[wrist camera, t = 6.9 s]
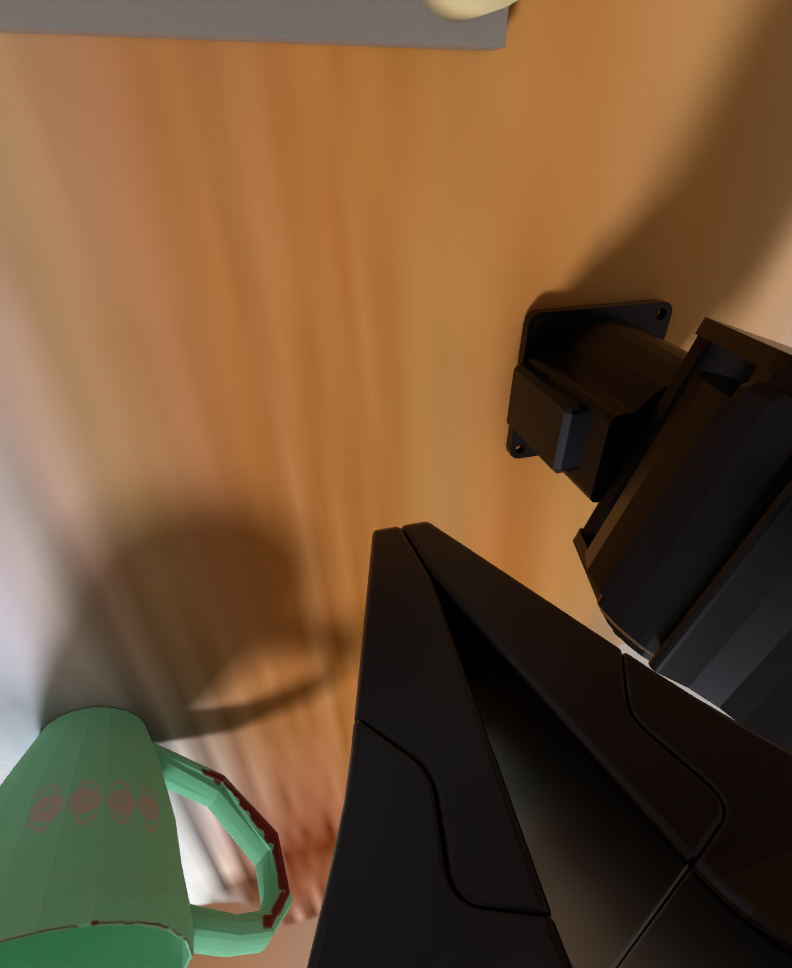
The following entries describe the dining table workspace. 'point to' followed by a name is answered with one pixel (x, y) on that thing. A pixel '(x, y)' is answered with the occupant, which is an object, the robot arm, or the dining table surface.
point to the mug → (119, 853)
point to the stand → (272, 21)
